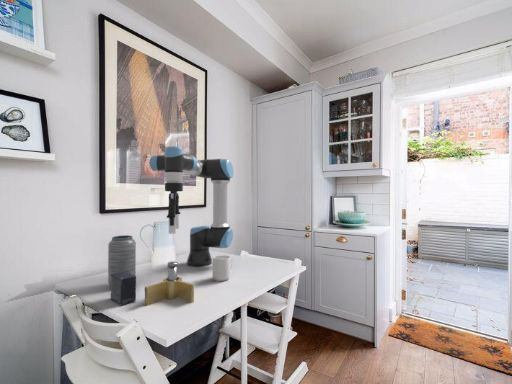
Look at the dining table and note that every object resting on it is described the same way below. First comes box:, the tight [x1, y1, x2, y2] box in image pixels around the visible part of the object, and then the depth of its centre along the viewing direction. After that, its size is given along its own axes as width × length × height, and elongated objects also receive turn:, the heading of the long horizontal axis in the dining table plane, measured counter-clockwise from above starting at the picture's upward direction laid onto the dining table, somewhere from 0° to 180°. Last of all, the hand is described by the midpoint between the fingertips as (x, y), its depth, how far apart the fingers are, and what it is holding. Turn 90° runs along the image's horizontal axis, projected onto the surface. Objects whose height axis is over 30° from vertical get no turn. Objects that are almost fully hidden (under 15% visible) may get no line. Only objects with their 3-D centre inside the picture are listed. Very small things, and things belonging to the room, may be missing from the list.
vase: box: [107, 234, 137, 286], centre depth 128 cm, size 12×12×23 cm
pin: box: [167, 261, 178, 281], centre depth 115 cm, size 4×4×14 cm
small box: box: [109, 271, 137, 307], centre depth 110 cm, size 11×6×10 cm, turn 48°
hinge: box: [144, 276, 195, 306], centre depth 113 cm, size 13×19×7 cm
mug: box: [212, 254, 234, 282], centre depth 139 cm, size 12×9×11 cm
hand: (174, 231), depth 118 cm, fingers open, 13 cm apart
